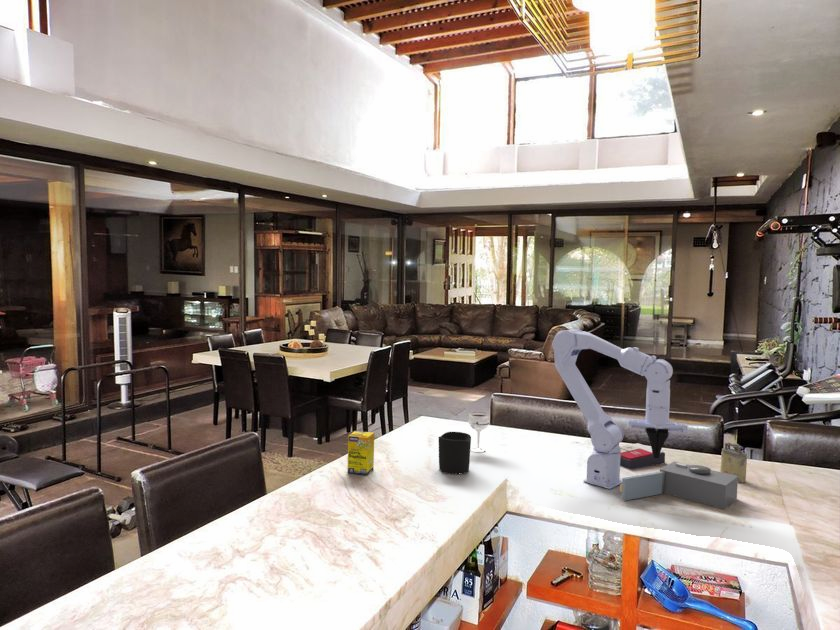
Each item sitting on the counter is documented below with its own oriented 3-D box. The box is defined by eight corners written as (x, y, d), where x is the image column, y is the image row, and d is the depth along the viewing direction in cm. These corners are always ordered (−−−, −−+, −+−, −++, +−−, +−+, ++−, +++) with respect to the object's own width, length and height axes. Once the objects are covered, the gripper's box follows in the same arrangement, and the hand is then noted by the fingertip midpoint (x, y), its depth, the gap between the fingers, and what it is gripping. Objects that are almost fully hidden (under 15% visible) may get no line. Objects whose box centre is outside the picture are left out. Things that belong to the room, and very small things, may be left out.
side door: (619, 498, 144) (620, 477, 144) (658, 490, 150) (659, 470, 150) (624, 500, 143) (625, 479, 142) (664, 493, 149) (665, 472, 148)
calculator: (602, 448, 178) (637, 441, 184) (602, 461, 178) (637, 454, 185) (629, 458, 168) (665, 450, 175) (629, 472, 168) (665, 463, 175)
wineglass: (464, 448, 186) (465, 412, 186) (483, 447, 188) (484, 411, 188) (472, 454, 180) (473, 417, 179) (492, 453, 182) (493, 416, 181)
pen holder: (475, 473, 162) (476, 438, 162) (445, 476, 159) (446, 441, 158) (461, 463, 171) (462, 430, 170) (432, 466, 167) (433, 433, 167)
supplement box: (347, 473, 160) (347, 435, 159) (354, 467, 165) (355, 430, 165) (367, 475, 158) (367, 437, 158) (373, 469, 164) (374, 431, 163)
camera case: (724, 509, 139) (726, 481, 139) (658, 491, 150) (660, 465, 150) (736, 498, 146) (738, 472, 146) (673, 482, 157) (674, 457, 157)
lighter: (748, 482, 159) (750, 447, 159) (740, 484, 157) (742, 448, 157) (724, 474, 166) (726, 440, 165) (716, 476, 164) (718, 442, 163)
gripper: (629, 407, 147) (628, 458, 148) (690, 411, 143) (688, 464, 144) (627, 401, 154) (625, 451, 154) (685, 405, 150) (683, 456, 151)
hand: (655, 456), depth 150 cm, fingers closed
